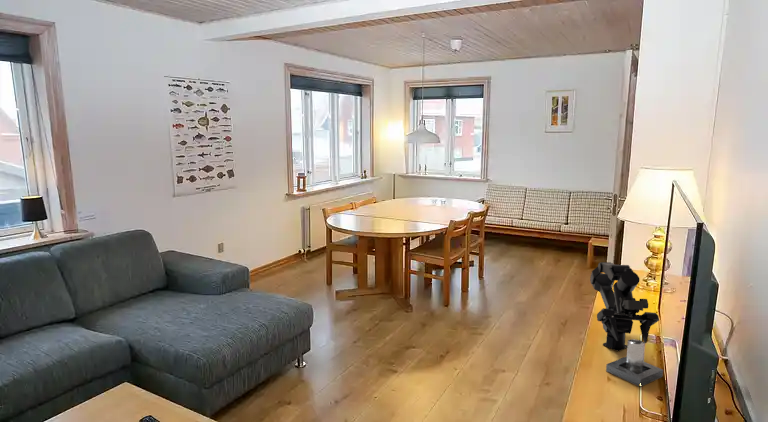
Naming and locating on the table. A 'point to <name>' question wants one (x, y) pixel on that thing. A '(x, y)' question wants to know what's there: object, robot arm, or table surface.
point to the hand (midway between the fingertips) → (631, 341)
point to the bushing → (635, 356)
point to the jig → (644, 378)
